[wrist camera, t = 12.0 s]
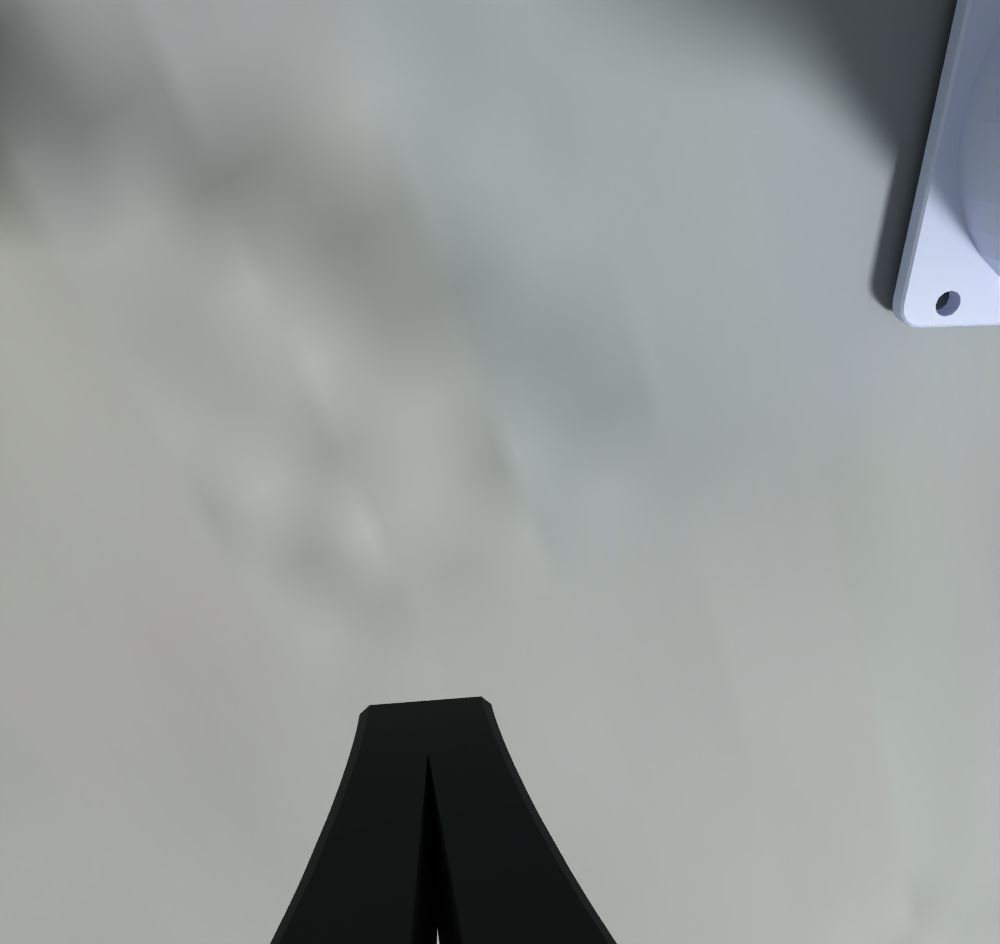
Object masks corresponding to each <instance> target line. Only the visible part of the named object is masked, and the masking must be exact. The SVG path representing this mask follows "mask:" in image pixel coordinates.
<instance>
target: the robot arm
mask: <svg viewBox="0 0 1000 944" xmlns="http://www.w3.org/2000/svg"><path fill="white" fill-rule="evenodd" d="M948 291H949V299H948V301H947V303H946V305H945V306H944V307H942V308H941V309H939V310H936V302H937V300H938V298H939V297H940V296H941V295H942V294H944V293H945V292H948ZM893 312H894V314H895V316H896V318H898V319H899V320H900V321H902V322H903V323H905V324H907V325H909V326H912V327H918V328H919V327H946V326H974V325H1000V0H957V5H956V9H955V14H954V19H953V23H952V28H951V33H950V37H949V42H948V46H947V51H946V56H945V60H944V65H943V70H942V74H941V79H940V84H939V88H938V93H937V98H936V102H935V107H934V111H933V116H932V121H931V125H930V130H929V135H928V139H927V144H926V149H925V153H924V158H923V163H922V167H921V172H920V176H919V181H918V186H917V190H916V195H915V200H914V204H913V209H912V214H911V218H910V223H909V228H908V232H907V237H906V241H905V246H904V251H903V255H902V260H901V265H900V269H899V274H898V279H897V283H896V288H895V293H894V297H893ZM437 928H438V936H439V943H440V944H617V943H616V942H615V940H614V939H613V937H612V936H611V934H610V933H609V931H608V930H607V928H606V926H605V925H604V923H603V922H602V920H601V919H600V917H599V916H598V914H597V913H596V911H595V909H594V908H593V906H592V905H591V903H590V902H589V900H588V898H587V897H586V895H585V894H584V892H583V890H582V889H581V887H580V885H579V884H578V882H577V880H576V879H575V877H574V875H573V874H572V872H571V871H570V869H569V867H568V865H567V864H566V862H565V860H564V858H563V856H562V855H561V853H560V851H559V849H558V848H557V846H556V844H555V842H554V841H553V839H552V837H551V835H550V833H549V832H548V830H547V828H546V826H545V825H544V823H543V821H542V819H541V818H540V816H539V814H538V812H537V810H536V808H535V806H534V804H533V802H532V800H531V798H530V796H529V794H528V792H527V790H526V788H525V786H524V784H523V782H522V780H521V778H520V776H519V774H518V772H517V770H516V768H515V766H514V763H513V761H512V759H511V757H510V754H509V752H508V750H507V747H506V745H505V743H504V740H503V738H502V735H501V732H500V730H499V727H498V724H497V722H496V719H495V716H494V712H493V709H492V705H491V704H490V703H489V702H488V701H486V700H485V699H484V698H483V697H469V698H456V699H443V700H431V701H418V702H405V703H392V704H379V705H369V706H368V707H367V708H366V709H365V710H364V711H363V712H362V713H361V714H360V716H359V721H358V726H357V731H356V735H355V738H354V742H353V745H352V749H351V752H350V756H349V759H348V762H347V765H346V768H345V771H344V774H343V777H342V780H341V783H340V785H339V788H338V791H337V794H336V796H335V799H334V802H333V804H332V807H331V810H330V812H329V815H328V817H327V820H326V822H325V825H324V827H323V829H322V832H321V834H320V836H319V839H318V841H317V843H316V846H315V848H314V851H313V853H312V855H311V858H310V860H309V862H308V865H307V867H306V870H305V872H304V874H303V877H302V879H301V881H300V883H299V886H298V888H297V890H296V892H295V894H294V896H293V899H292V901H291V903H290V905H289V907H288V909H287V911H286V913H285V915H284V917H283V919H282V921H281V923H280V925H279V927H278V929H277V931H276V933H275V935H274V937H273V939H272V941H271V943H270V944H437Z"/></svg>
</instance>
